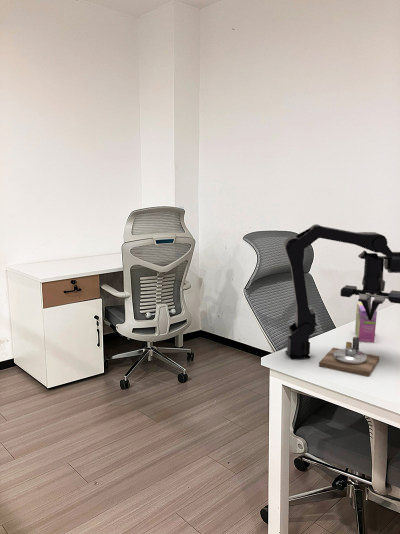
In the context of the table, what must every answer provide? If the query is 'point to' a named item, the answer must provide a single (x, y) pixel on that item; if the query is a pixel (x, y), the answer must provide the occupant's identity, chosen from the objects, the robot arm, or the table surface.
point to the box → (364, 325)
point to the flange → (351, 354)
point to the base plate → (358, 369)
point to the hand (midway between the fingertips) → (370, 320)
